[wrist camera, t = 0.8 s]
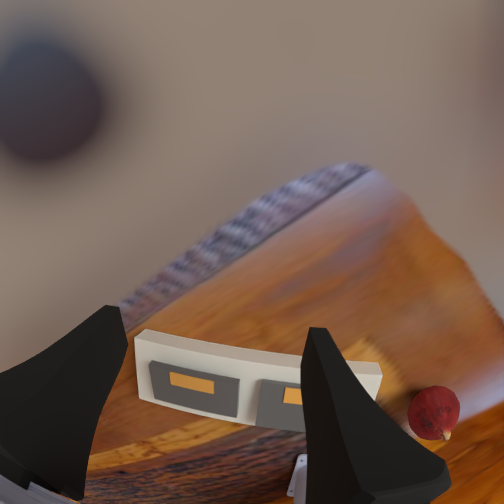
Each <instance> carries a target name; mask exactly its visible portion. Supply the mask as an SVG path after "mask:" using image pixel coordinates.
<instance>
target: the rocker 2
mask: <svg viewBox="0 0 504 504" xmlns="http://www.w3.org/2000/svg"><path fill="white" fill-rule="evenodd" d="M255 426H261V427H268V428H275V429H282V430H291V431H300V432H306V430H305V422H304V414H303V405H302V397H301V389H300V384H298V383H290V382H282V381H275V380H268V379H262V382H261V389H260V396H259V402H258V409H257V416H256V422H255Z"/></svg>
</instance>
